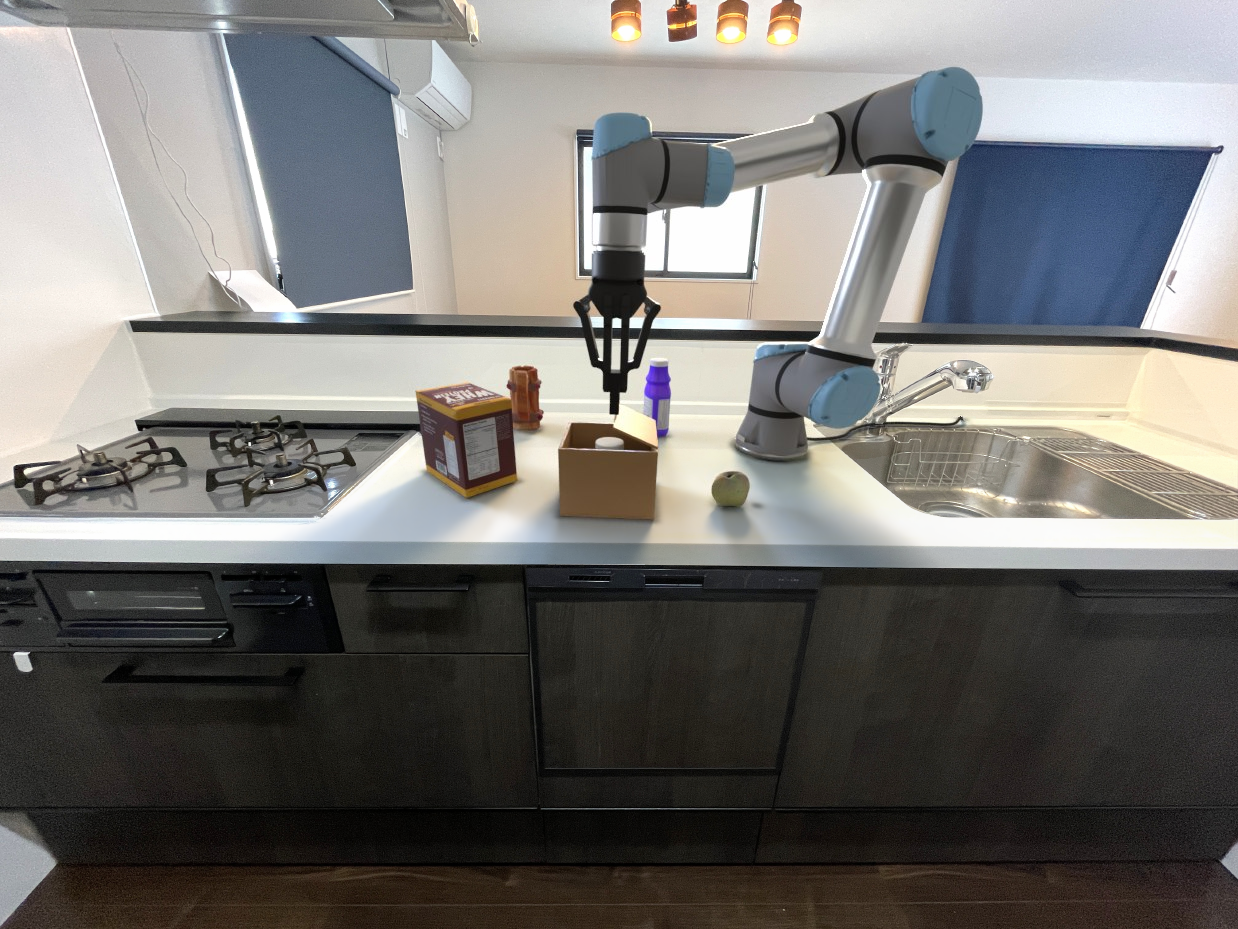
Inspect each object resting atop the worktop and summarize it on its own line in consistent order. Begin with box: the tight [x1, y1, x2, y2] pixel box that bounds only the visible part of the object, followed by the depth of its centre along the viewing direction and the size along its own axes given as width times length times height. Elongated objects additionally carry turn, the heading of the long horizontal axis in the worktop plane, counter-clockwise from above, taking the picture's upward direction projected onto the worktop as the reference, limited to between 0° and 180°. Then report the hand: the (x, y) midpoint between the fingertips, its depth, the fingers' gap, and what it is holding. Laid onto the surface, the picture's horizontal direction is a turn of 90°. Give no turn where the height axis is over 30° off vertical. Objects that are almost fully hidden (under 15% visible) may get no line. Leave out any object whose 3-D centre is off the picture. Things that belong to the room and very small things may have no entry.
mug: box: [505, 364, 545, 431], centre depth 111 cm, size 15×8×15 cm, turn 6°
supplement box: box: [414, 381, 518, 499], centre depth 88 cm, size 10×15×16 cm
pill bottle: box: [595, 437, 624, 450], centre depth 82 cm, size 6×6×10 cm
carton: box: [557, 421, 659, 520], centre depth 82 cm, size 15×13×12 cm
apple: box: [710, 470, 751, 508], centre depth 82 cm, size 6×8×6 cm
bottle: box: [642, 357, 672, 438], centre depth 112 cm, size 7×6×17 cm
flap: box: [613, 403, 659, 450], centre depth 79 cm, size 7×13×1 cm, turn 178°
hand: (614, 411), depth 78 cm, fingers closed
